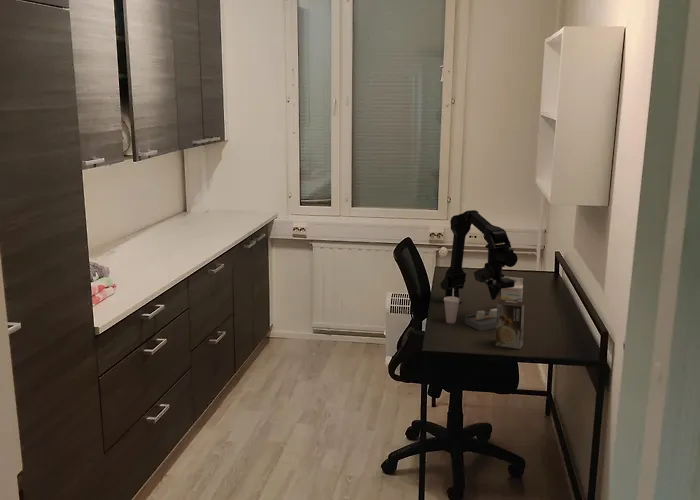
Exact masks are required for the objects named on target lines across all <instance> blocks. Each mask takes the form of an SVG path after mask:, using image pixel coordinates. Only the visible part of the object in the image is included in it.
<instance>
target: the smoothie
mask: <svg viewBox="0 0 700 500" xmlns="http://www.w3.org/2000/svg"><path fill="white" fill-rule="evenodd" d="M443 299H444V302H443V303H444V313H445V322H446V323H447V324H455V323H456V322H457V316H458V315H457V314H458V310H459V304H460V303H459V302H460V301H461V300H460V297H459V298H458V297H454V288H453V293H452V296H449V297H445V296H444V298H443Z"/></svg>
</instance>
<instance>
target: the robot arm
mask: <svg viewBox="0 0 700 500" xmlns="http://www.w3.org/2000/svg"><path fill="white" fill-rule="evenodd" d="M472 225H473V226H474V227H475V228H476V229H477V230H478V231H479V232H480V233H482V235H483V239H484V240H485V242H486V243H487V244H486V245H485V246H484V248H486V249H487V262H485V263H484V267H481V268H480V269H476V270H475V271H474V272H473V276H474V278H475V279H474V280H475V281H477V282H479V283H484V284H485V285H486V286H487V288H488V291H489V295H490V298H491V300H492V301H493V300H496V298H498V297H497V296H498V295H499V293H500V292H501V288H510V287H514V285H515V282H516V281H515V280H514V279H510V278H503V277H504V276H505V274H504V273H503V268H504V267H505V266H506V267H509V268H512V267H514V266H516V264H517V262H518V260H519V259H518V256H517V254H516V253H515V252H514V251H515V250H514V248H512V245H511V241H510V239H509V236H508V234H507V231H506V229H504V228H502V227H501V226H497V225H493V224H492V223H490V221H488V220H487V219H486V218H485V217H483V216H482V215H481V214H480V213H479V211H478V210H476V209H473V210H472V209H471V210H466V211H464V212H462V213H459V214H454V215H453V216H451V218H450V230H451V233H453V238H452V239H453V240H452V246H451V256H450V257H451V259H450V266H449V267H448V269H447V270H446V272H445V275H444V278H443V280H442V281H441V282H440V288H441V289H442V290H444V298H445V297H449V296H452V293H453V288H454V297H458V298H459V299H460V294H459V293H460V289H461V290H463V289H464V286H465V283H466V277H467V273H466V272H464V269H463V261H464V255H465V254H464V253H465V244H466V243H465V242H466V237H467V235H468V234H469V232H470V230H471V226H472ZM444 298H443V299H441V302H443V303H444ZM459 304H462V300H460V302H459Z"/></svg>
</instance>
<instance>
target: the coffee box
mask: <svg viewBox="0 0 700 500" xmlns="http://www.w3.org/2000/svg"><path fill="white" fill-rule="evenodd" d="M525 305H526V303H525V301H522V302H520V301H512V300H503V299H501V298H500V299H499V300H498V302H497V304H496V309H497V321H496V328H495V346H496V347H504V348H511V349H517V350H521V348H522V347H523V345H524V321H525Z"/></svg>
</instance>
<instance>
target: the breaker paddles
mask: <svg viewBox="0 0 700 500" xmlns="http://www.w3.org/2000/svg"><path fill="white" fill-rule="evenodd" d="M485 312H486V311H485V310H483V309H482V310H478V311H476V314H477V315H476V318H475V320H481V319H487V318H493V317H497V308H490V310H489V311H488V312H489V316H485ZM484 316H485V317H484Z"/></svg>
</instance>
